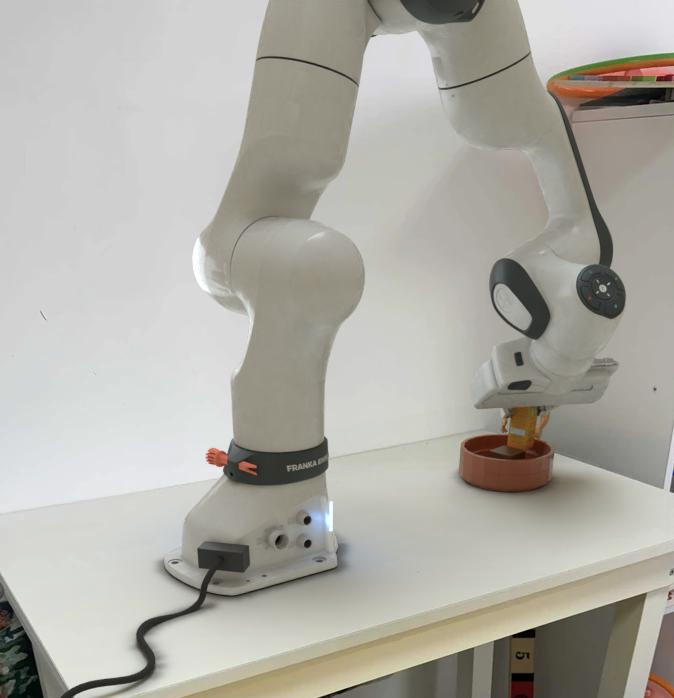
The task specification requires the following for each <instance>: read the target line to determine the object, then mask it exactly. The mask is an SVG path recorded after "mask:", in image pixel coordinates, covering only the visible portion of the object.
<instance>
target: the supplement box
mask: <svg viewBox="0 0 674 698" xmlns="http://www.w3.org/2000/svg"><path fill="white" fill-rule="evenodd" d="M513 409H514V414H513V415H512V418H509V426H508V433H507V434H508V443H507V446H509V447H513V448H517V449H521V450H525V451H527V450H528V449H530V448H532V447H533V445H534V438H536V437H535V430H536V428H537V423H538V422H537V421H538V417H539V416H538V409H539V406H530V407H513Z"/></svg>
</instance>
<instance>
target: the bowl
mask: <svg viewBox="0 0 674 698" xmlns="http://www.w3.org/2000/svg"><path fill="white" fill-rule="evenodd" d="M508 434H509V433H486V434H479V435H474V436H471V437H467V438H465V439H464V440H463V441H461V442H460V448H459V462H458V463H459V465H458V475H459V476H460V477H461V478H462V479H463V480H464V481H465V482H467V483H468V484H470V485H472V486H473V487H474V486H475V487H477V488H481V489H484V490H490V491H497V492H525V491H532V490H536V489H539V488H541V487H543V486H544V485H545V484H548V483H549V481H550V480H552V477H553V476H552V475H553V468H554V459H555V447H554V446H553V445H552V444H551V443H549V442H547V441H545V440H542V439H541V438H539V439H537V438H536V437H535V438H534V445H533V447H532V448H530V449H528V450H527V451H526V454H525V459H524V460H506V459H495V458H489V451H490V450H493V449H496V448H498V447H501V446H504V445H505V446H507V443H508Z"/></svg>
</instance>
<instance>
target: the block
mask: <svg viewBox="0 0 674 698" xmlns="http://www.w3.org/2000/svg"><path fill="white" fill-rule="evenodd" d="M525 454H526V451H525V450H521V449H517V448H513V447H509V446H505V445H504V446H501V447H498V448H496V449H493V450H490V451H489V458H495V459H506V460H524V459H525Z"/></svg>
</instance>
